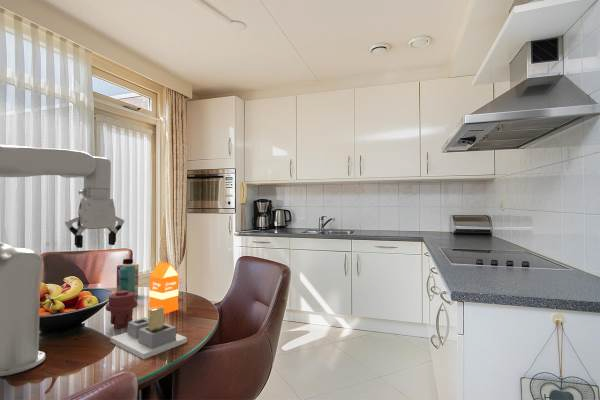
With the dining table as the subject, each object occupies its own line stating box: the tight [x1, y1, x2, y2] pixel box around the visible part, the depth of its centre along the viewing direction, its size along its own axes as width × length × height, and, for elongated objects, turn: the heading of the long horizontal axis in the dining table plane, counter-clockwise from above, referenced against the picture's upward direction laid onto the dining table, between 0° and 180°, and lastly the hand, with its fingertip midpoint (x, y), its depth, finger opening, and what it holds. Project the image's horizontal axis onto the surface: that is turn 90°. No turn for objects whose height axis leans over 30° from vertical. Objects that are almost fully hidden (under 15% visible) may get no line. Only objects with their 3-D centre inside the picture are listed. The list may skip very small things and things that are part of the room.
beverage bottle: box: [119, 258, 135, 293], centre depth 143 cm, size 6×7×20 cm
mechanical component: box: [105, 290, 138, 330], centre depth 115 cm, size 12×10×10 cm
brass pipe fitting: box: [147, 307, 165, 333], centre depth 97 cm, size 4×4×10 cm
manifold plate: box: [110, 317, 188, 360], centre depth 100 cm, size 14×20×6 cm
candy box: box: [115, 263, 139, 297], centre depth 155 cm, size 9×4×15 cm, turn 91°
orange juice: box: [148, 261, 179, 315], centre depth 133 cm, size 8×9×20 cm
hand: (96, 246), depth 104 cm, fingers open, 9 cm apart
